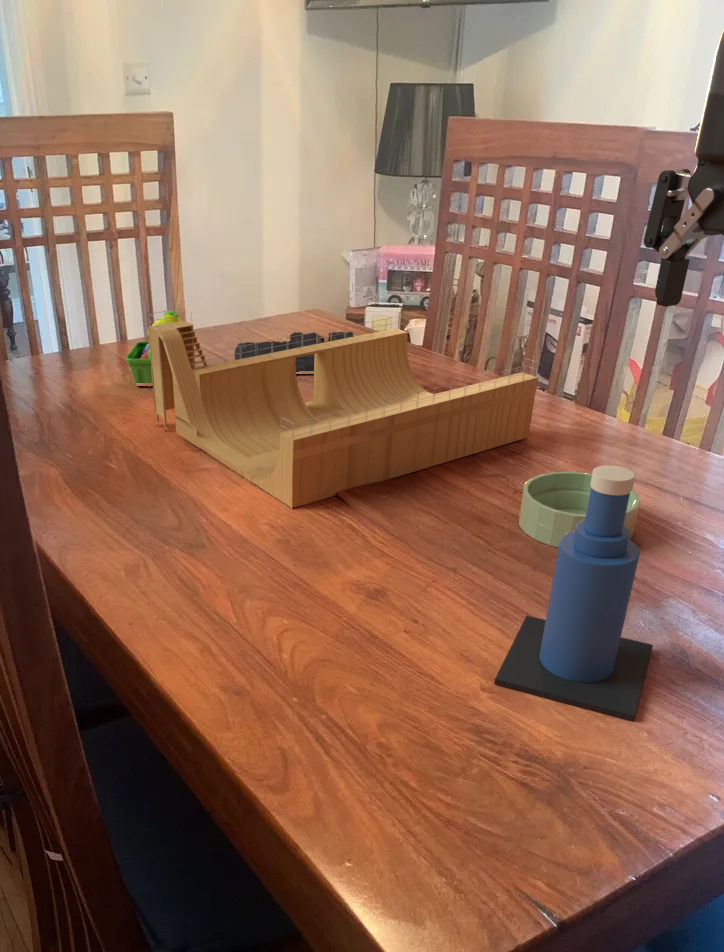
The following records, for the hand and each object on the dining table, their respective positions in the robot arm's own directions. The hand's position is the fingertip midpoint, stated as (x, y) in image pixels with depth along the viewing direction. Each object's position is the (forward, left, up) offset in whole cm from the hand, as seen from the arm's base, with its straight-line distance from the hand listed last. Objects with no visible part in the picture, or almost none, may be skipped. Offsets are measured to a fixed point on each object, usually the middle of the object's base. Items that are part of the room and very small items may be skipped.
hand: (709, 315), depth 71 cm
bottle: (+15, +8, -26) cm, 31 cm away
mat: (+15, +8, -26) cm, 31 cm away
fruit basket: (+24, -88, -26) cm, 95 cm away
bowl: (-2, -13, -26) cm, 29 cm away
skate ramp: (+8, -52, -26) cm, 59 cm away
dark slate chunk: (-1, -87, -26) cm, 91 cm away
